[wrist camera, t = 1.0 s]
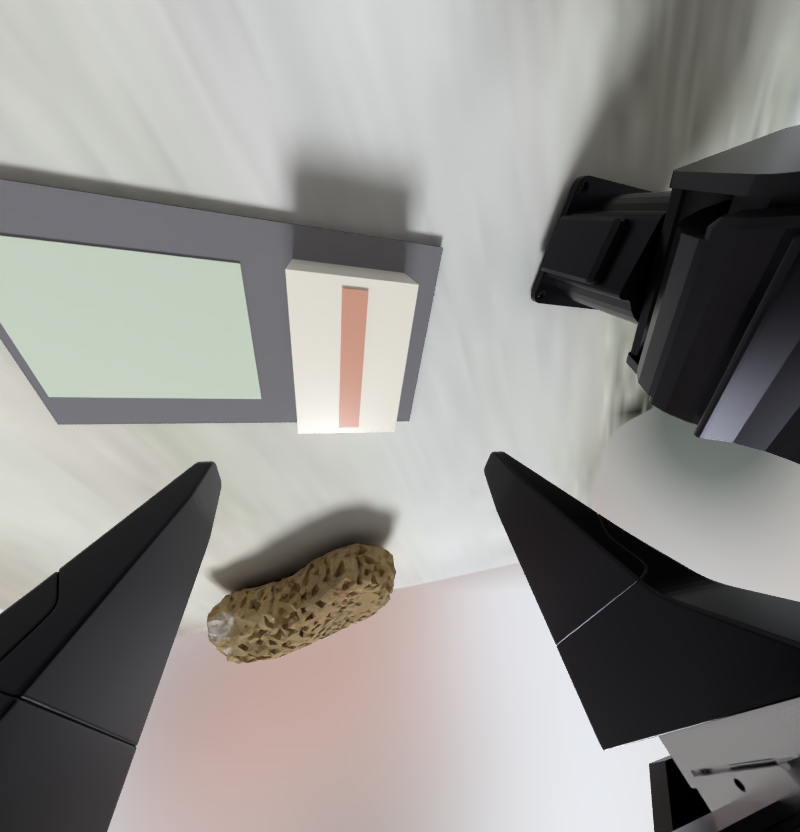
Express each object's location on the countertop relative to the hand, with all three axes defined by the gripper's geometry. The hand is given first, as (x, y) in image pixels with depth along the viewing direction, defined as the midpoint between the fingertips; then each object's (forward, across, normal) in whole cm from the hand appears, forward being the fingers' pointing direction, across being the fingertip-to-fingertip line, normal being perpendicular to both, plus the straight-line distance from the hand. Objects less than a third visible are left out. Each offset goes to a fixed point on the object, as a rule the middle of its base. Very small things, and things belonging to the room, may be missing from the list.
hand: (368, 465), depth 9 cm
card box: (+11, 0, 0) cm, 11 cm away
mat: (+11, +6, 0) cm, 13 cm away
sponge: (+11, +3, +29) cm, 31 cm away
